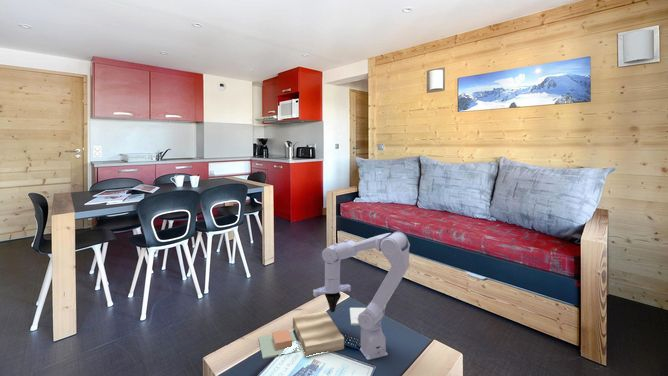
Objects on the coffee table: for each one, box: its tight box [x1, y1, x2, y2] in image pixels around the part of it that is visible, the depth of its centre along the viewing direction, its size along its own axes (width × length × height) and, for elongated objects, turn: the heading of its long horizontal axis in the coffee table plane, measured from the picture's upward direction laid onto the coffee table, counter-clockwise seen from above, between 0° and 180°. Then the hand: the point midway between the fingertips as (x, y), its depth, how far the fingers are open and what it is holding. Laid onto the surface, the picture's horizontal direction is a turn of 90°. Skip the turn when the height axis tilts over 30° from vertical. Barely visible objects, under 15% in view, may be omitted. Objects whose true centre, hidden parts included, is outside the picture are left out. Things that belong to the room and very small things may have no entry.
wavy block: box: [292, 310, 345, 357], centre depth 117 cm, size 20×14×4 cm
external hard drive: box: [349, 307, 367, 327], centre depth 132 cm, size 2×8×12 cm
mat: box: [258, 330, 301, 360], centre depth 112 cm, size 12×13×1 cm
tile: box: [271, 329, 292, 350], centre depth 113 cm, size 7×6×2 cm
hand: (332, 310), depth 118 cm, fingers closed
